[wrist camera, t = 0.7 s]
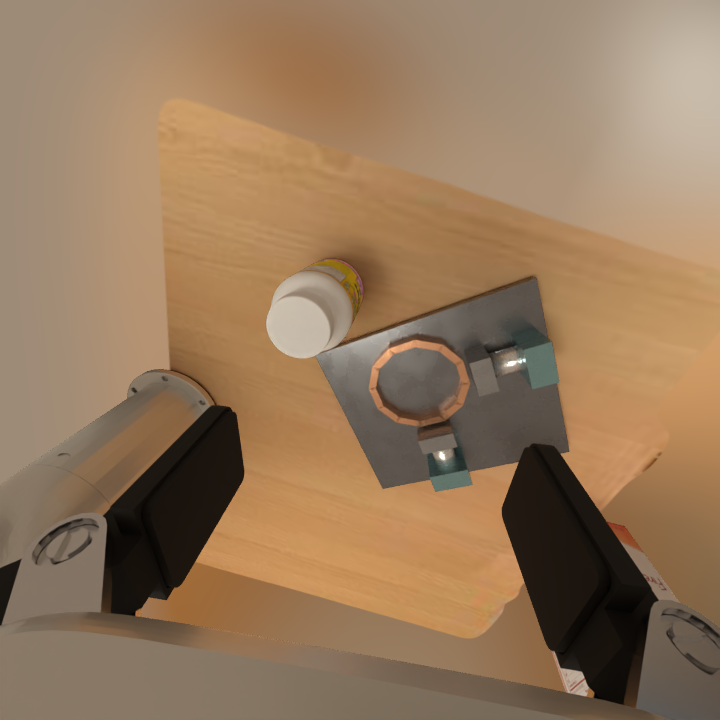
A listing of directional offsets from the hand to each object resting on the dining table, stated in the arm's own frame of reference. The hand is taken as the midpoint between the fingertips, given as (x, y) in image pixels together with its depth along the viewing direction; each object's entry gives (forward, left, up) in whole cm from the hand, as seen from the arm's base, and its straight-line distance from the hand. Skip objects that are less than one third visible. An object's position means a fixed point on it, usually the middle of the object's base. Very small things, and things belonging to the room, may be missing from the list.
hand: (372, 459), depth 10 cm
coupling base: (+1, -15, -25) cm, 29 cm away
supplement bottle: (-6, +2, -25) cm, 26 cm away
